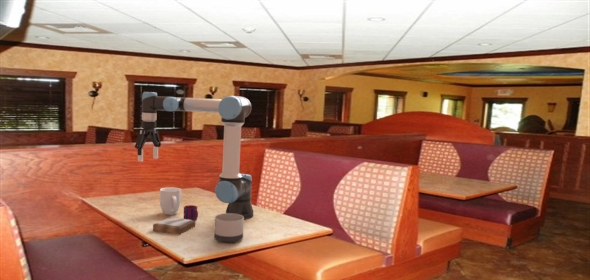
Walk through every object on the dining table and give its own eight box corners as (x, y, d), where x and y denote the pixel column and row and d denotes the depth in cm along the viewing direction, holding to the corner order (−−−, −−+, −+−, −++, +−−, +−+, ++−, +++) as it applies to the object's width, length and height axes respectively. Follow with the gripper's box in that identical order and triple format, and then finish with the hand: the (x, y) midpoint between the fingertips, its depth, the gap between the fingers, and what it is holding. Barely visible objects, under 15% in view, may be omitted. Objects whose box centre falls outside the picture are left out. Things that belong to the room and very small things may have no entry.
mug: (185, 216, 225) (186, 192, 224) (164, 218, 219) (165, 193, 218) (176, 209, 237) (177, 186, 236) (156, 211, 231) (157, 188, 230)
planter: (224, 233, 199) (224, 211, 198) (248, 238, 194) (249, 215, 193) (208, 241, 187) (209, 218, 186) (233, 246, 182) (234, 222, 181)
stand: (194, 226, 207) (195, 219, 207) (179, 234, 194) (179, 227, 194) (169, 223, 211) (169, 216, 211) (153, 230, 198) (153, 223, 197)
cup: (193, 217, 224) (194, 204, 223) (201, 222, 216) (202, 209, 215) (181, 218, 220) (181, 206, 219) (189, 223, 212) (189, 210, 211)
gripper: (156, 119, 241) (155, 156, 243) (128, 120, 218) (127, 161, 219) (168, 120, 239) (167, 157, 241) (140, 121, 216) (139, 163, 217)
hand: (148, 159), depth 230 cm, fingers open, 13 cm apart
